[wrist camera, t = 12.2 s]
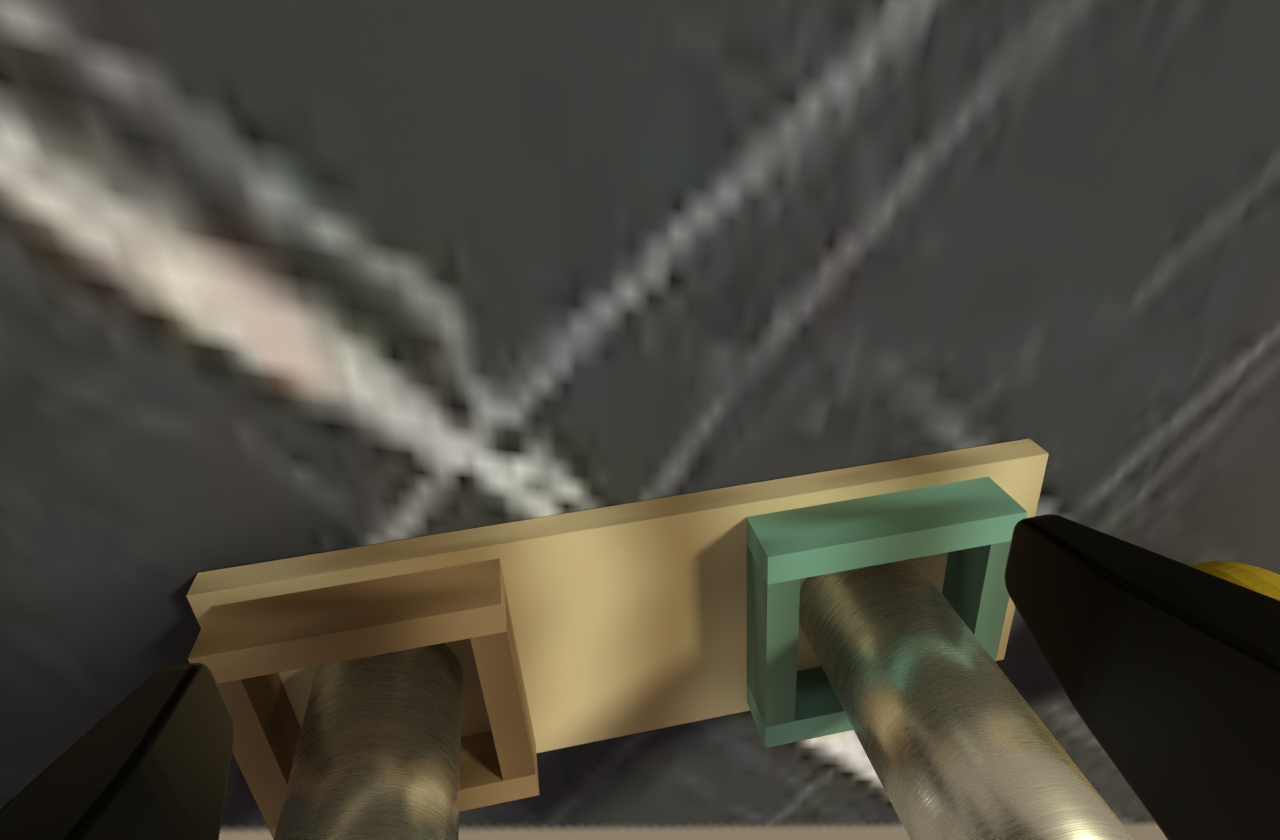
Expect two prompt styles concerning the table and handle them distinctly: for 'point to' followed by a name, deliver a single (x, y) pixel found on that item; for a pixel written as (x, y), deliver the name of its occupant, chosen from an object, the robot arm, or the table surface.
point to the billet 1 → (379, 750)
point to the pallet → (612, 610)
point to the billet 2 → (943, 715)
